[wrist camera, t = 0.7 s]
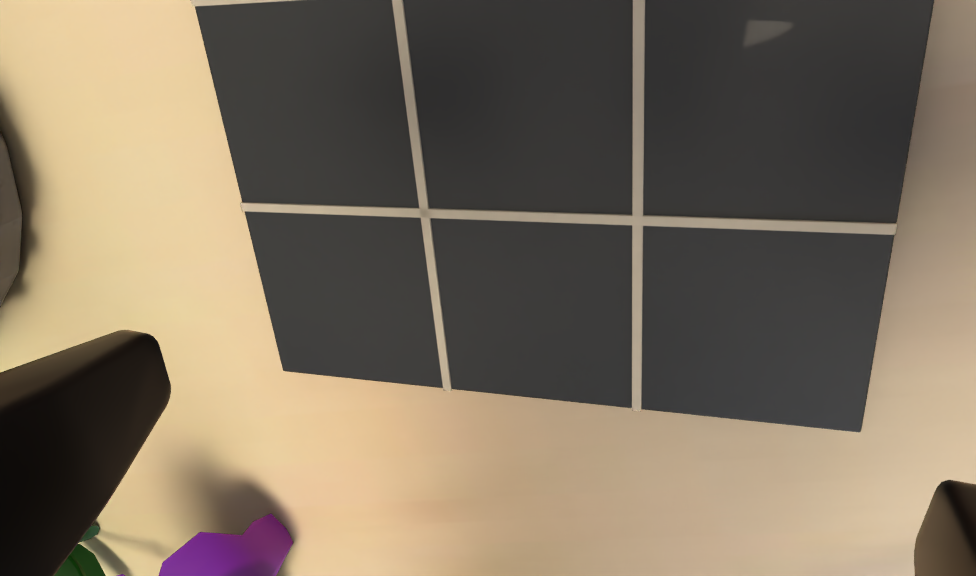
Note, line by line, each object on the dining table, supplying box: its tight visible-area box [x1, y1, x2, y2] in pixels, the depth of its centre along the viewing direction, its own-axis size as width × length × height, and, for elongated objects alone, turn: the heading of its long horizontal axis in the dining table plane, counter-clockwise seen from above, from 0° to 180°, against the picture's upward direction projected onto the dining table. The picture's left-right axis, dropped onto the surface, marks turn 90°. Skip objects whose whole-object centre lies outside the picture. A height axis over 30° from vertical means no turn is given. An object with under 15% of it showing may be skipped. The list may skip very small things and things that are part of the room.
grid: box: [191, 0, 934, 432], centre depth 22 cm, size 20×20×1 cm
